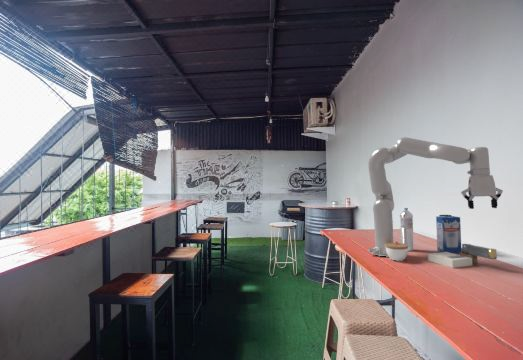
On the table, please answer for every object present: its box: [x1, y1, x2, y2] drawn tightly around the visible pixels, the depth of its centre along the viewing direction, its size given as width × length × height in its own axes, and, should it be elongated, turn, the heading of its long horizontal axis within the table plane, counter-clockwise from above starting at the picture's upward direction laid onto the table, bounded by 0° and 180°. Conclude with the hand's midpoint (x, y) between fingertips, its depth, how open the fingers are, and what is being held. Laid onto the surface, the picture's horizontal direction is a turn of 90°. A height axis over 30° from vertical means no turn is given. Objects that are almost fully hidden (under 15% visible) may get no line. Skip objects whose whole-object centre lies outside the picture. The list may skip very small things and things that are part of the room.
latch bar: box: [461, 243, 498, 260], centre depth 137 cm, size 16×4×4 cm, turn 15°
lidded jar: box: [386, 241, 409, 262], centre depth 152 cm, size 11×11×9 cm
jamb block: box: [458, 251, 478, 266], centre depth 143 cm, size 4×6×5 cm, turn 15°
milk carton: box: [435, 215, 462, 254], centre depth 166 cm, size 10×6×20 cm, turn 88°
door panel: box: [427, 252, 473, 269], centre depth 144 cm, size 12×14×4 cm
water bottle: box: [399, 207, 415, 252], centre depth 173 cm, size 7×7×25 cm
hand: (482, 208), depth 140 cm, fingers open, 9 cm apart
